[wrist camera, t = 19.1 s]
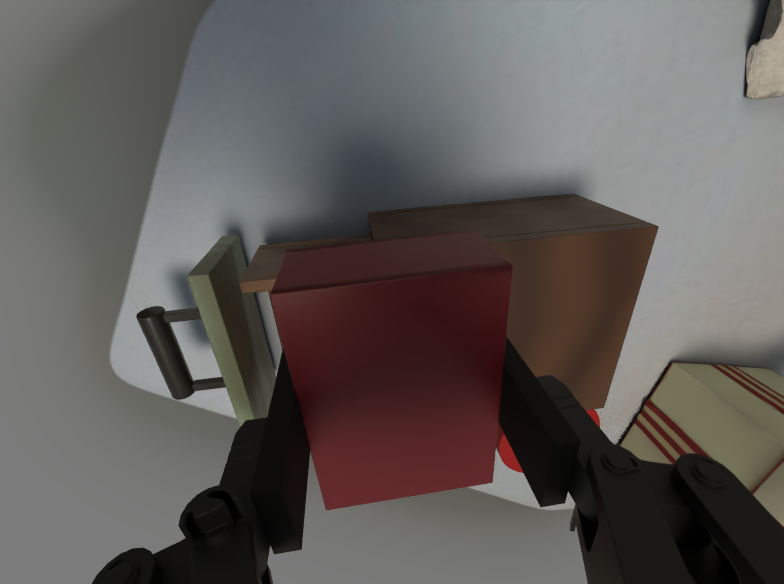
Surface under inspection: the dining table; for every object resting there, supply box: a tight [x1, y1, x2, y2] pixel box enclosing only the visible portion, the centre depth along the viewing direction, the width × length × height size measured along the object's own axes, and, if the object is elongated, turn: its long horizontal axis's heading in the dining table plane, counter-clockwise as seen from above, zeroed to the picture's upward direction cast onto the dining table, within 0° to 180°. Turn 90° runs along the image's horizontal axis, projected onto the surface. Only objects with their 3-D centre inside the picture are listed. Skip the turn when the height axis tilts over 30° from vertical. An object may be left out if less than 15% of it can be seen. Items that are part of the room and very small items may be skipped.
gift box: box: [620, 362, 784, 528], centre depth 36 cm, size 17×18×17 cm
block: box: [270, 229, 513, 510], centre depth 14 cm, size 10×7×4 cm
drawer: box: [137, 235, 373, 427], centre depth 27 cm, size 21×14×7 cm, turn 92°
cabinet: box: [368, 194, 658, 423], centre depth 28 cm, size 17×15×9 cm
